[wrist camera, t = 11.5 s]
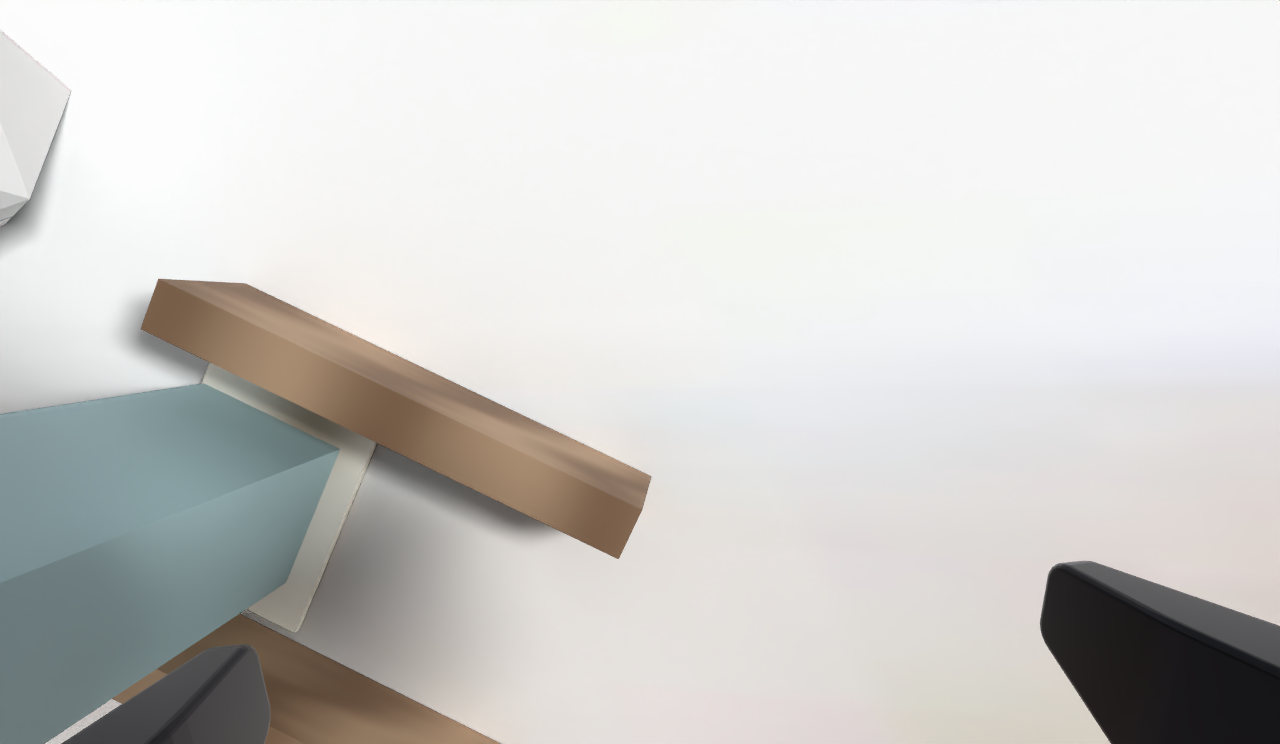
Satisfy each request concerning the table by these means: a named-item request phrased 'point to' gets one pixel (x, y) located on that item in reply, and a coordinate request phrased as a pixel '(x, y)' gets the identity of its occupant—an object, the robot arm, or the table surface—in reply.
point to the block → (137, 539)
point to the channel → (355, 422)
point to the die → (25, 123)
